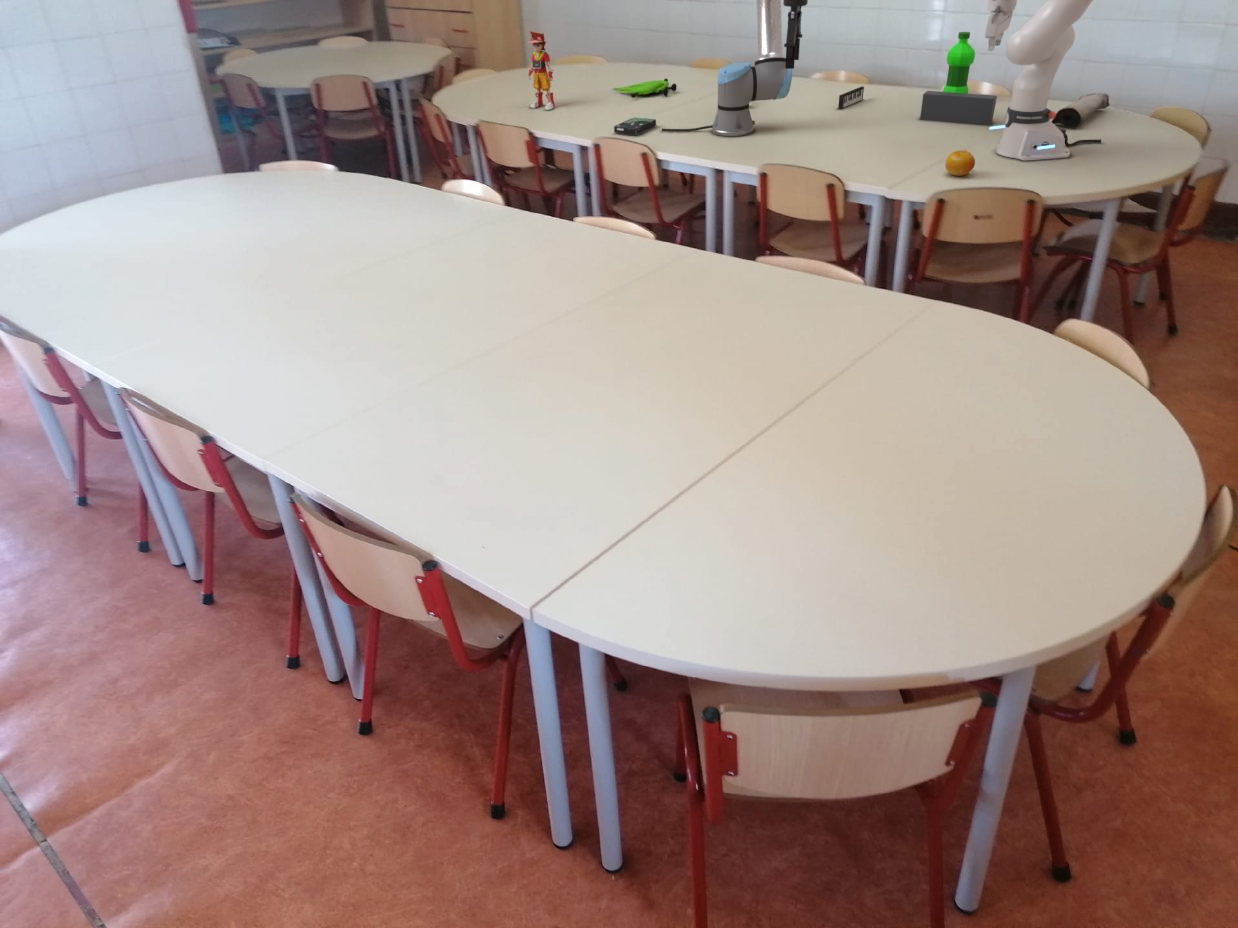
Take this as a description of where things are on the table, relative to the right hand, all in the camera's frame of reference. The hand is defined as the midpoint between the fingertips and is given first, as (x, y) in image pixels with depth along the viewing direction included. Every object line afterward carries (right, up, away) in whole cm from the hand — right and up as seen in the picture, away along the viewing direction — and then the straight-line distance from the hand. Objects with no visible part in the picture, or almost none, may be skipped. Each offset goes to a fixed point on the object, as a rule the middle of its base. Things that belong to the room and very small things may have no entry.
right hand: (994, 48), depth 314 cm
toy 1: (-164, +6, +69) cm, 178 cm away
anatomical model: (-83, +2, +55) cm, 100 cm away
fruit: (-25, -55, -32) cm, 68 cm away
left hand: (-75, -15, -21) cm, 79 cm away
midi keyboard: (-38, -1, +46) cm, 60 cm away
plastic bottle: (+1, -3, +41) cm, 41 cm away
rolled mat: (+36, -20, +12) cm, 43 cm away
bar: (-7, -18, +19) cm, 27 cm away
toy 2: (-122, +19, +83) cm, 149 cm away
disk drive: (-125, -17, +31) cm, 130 cm away
